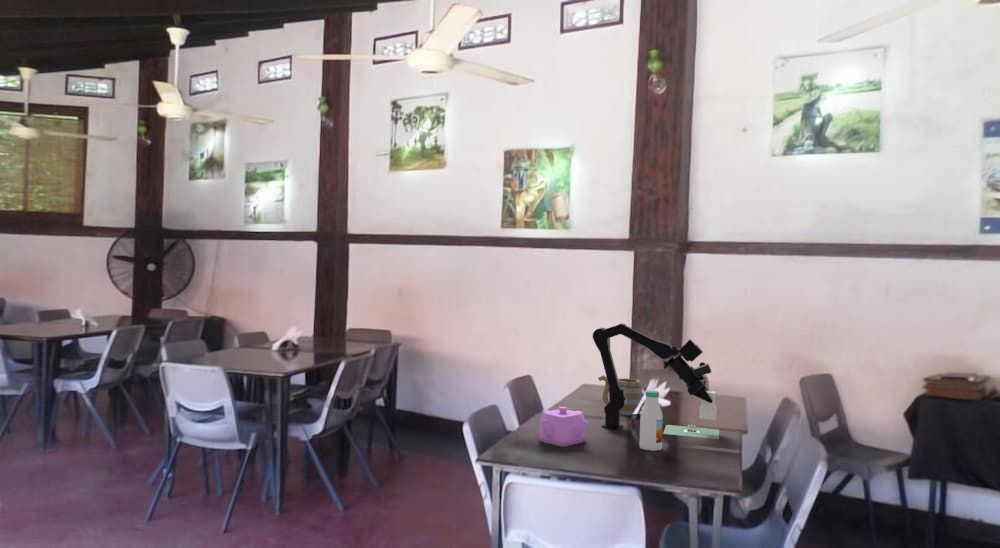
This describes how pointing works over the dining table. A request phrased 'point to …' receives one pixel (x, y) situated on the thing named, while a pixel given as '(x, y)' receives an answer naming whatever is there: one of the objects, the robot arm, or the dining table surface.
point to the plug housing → (708, 408)
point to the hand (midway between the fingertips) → (712, 401)
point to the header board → (691, 431)
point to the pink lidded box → (562, 426)
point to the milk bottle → (651, 423)
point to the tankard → (632, 392)
